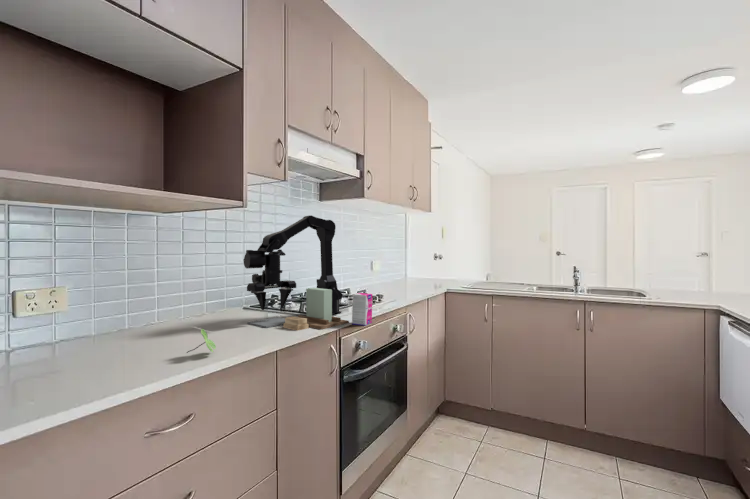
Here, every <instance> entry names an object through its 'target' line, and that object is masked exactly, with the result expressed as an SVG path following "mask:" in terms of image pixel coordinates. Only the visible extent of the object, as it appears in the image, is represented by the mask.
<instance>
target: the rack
mask: <svg viewBox="0 0 750 499" xmlns="http://www.w3.org/2000/svg"><path fill="white" fill-rule="evenodd" d="M297 317H300V318H307V324H309V328H312V329H315V330H317V329H318V330H325V329H329V328H333V327H338V326H342V325H346V324H350V323H349V322H350V320H346V319H341V317H338V316H333V315H332V322H329V320H325V319H320V318H314V317H308V316H306V315H302V314H301V315H300V314H299V315H297Z"/></svg>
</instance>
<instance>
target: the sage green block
mask: <svg viewBox="0 0 750 499" xmlns="http://www.w3.org/2000/svg"><path fill="white" fill-rule="evenodd" d="M305 291H306V292H305V294H306V296H305V297H306V298H305V300H306V303H305V305H306V306H305V307H306V308H305V310H306V313H305V316H308V317H314V318H320V319H325V320H329V322H332V316H333V314H332V290H331V289H321V288H317V287H310V288H309V287H307V288H306V289H305Z"/></svg>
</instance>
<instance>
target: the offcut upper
mask: <svg viewBox="0 0 750 499" xmlns="http://www.w3.org/2000/svg"><path fill="white" fill-rule="evenodd" d="M284 318H285V324H291V325H296V326H300V325H305V324H307V318H300V317H298V316H288V317H284Z"/></svg>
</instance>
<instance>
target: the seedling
mask: <svg viewBox="0 0 750 499" xmlns="http://www.w3.org/2000/svg"><path fill="white" fill-rule="evenodd" d="M200 334H201V335H202V337H203V339H204V342H203V343H201V344H199V345H198V346H196V347H195V348H194V349H191V350H188V351H187V352H186V353H185V354H188V353H190V352H192V351H195V350H197V349H198V348H199V347H201V346H203V345H204V344H206V347H207V349H208V350H209V351H210V352H212V353H214V350H216V348H217V345H216V343H215V342H214V341H213V340H212V339H210V338H209V337H208V334H207V332H206V330H205V329H204V328H201V329H200Z"/></svg>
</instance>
